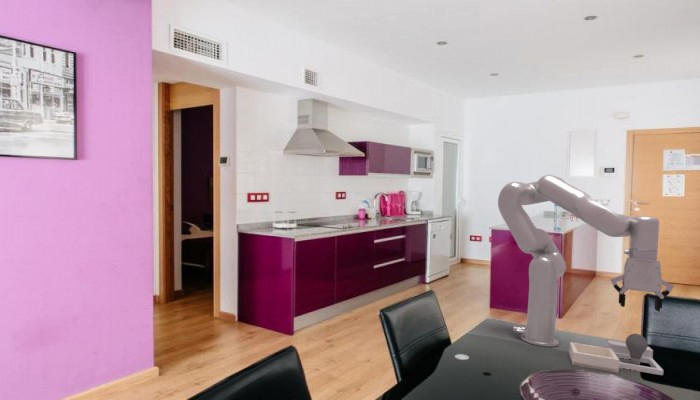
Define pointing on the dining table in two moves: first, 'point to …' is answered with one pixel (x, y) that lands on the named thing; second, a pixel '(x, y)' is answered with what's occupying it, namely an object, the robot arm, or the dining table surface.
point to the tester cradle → (623, 352)
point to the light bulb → (636, 347)
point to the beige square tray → (593, 357)
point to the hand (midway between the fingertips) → (639, 308)
